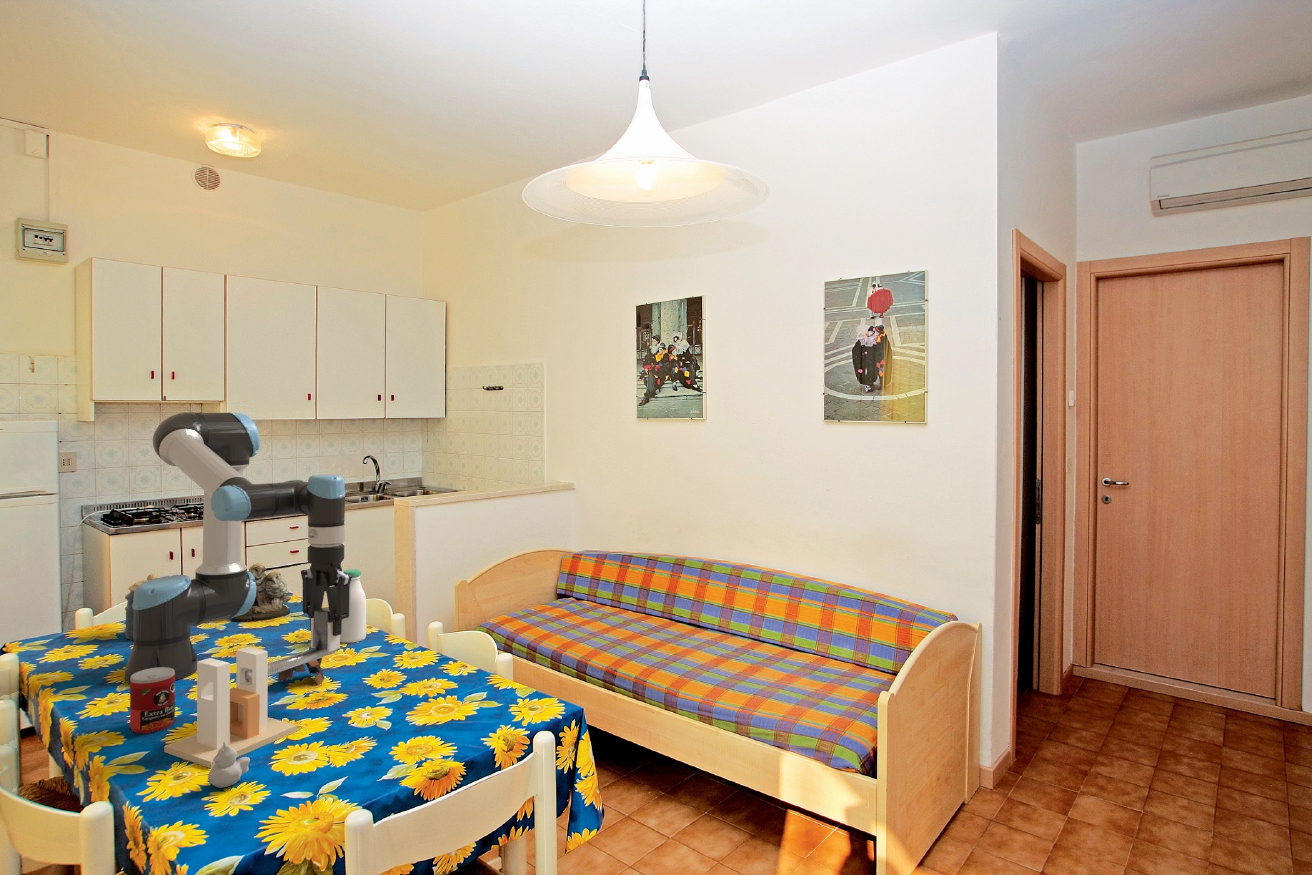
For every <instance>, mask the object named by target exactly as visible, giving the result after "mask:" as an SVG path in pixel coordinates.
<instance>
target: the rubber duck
mask: <svg viewBox="0 0 1312 875" xmlns="http://www.w3.org/2000/svg"><path fill="white" fill-rule="evenodd" d="M237 756H238V754H237V752H236V750H235V749H234V748H232V747H230V746H228V745H227V744H226V743H225V742H223V746H222V747H221V748H220V749H219V751H218V754H217V755H216V756H215V757H214V759H213V761H214V762H215V765H214V766H213V768H212V769H211V768H210V770H209V772H208V774H207V781H208V782H209V783H210V785H212V786H214V787H216V788H221V789H222V788H227V787H231V786H233V785H235V784H236V783H238V782H240V778H241V777H242V775H244V774H245V773H248V772H249V770H250V768H249V764H250V762H251V761H250V760H251V759H250V757H247V756H242V757H240V758H238V757H237ZM237 758H238V759H237Z"/></svg>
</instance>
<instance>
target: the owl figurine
mask: <svg viewBox="0 0 1312 875" xmlns="http://www.w3.org/2000/svg"><path fill="white" fill-rule="evenodd" d="M248 571H249V572H251V573H252V574H253V576H254V578H255V581H254V582H256V597H255V601H254V603H253V605H252V607H251V608H250V609H249V610H248V612H246V613H245V614H243V615H240V616H236V617H233V618H231V619H230V620H231V621H233V622H236V623H248V622H249V623H251V622H252V621H253V622H260V621H261V622H262V621H268V620H269V621H270V620H273V619H280V618H282V617H285V616H287V615H289V614H290V613H291V610H290V608H288V607H287V606H286V605H284V604H286V603H287V602H289V601H290V600H292V597H291V596H289V595H286V594H287V591H288V587H287V586H288V585H287V580H286V579H284V578H283V576H282V574H281V573H280V571H277V570H275V571H271V572H269V573H266V566H265V565H264V564H263V563H259V562H256V563H253V564H252V565H251V566H250V567H249V569H248Z"/></svg>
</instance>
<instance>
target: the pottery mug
mask: <svg viewBox="0 0 1312 875" xmlns="http://www.w3.org/2000/svg"><path fill="white" fill-rule="evenodd" d="M302 652H303V651H300V652H298V653H296V654H299V653H302ZM296 654H294V655H296ZM322 658H323V657H322ZM322 658H319V659H316V660H313V661H310V662H307V663H304V664H301V665H298V666H296V667H293V668H290V669H287V670H284V671H281V672H278V673H277V674H278V677H277V678H278V679H277V680H278V681H279V682H283V683H286V681H288V680H287V679H289V680H293V674H294V672H295V673H296V672H297V673H305V672H306V671H307V670H308V673H309V674H315V676H314V677H313V679H314V681H315V682H316V686H319V685H320V684H322V683H323V682H324V680H325V676H324V673H323V671H322V669H321V665H322V660H323V659H322ZM305 665H306V668H307V669H306V668H305Z"/></svg>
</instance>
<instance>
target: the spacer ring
mask: <svg viewBox="0 0 1312 875" xmlns="http://www.w3.org/2000/svg"><path fill="white" fill-rule="evenodd" d="M238 704H241V705H243V722H241V721H238ZM259 710H260V694H256V693H252V692H248V691H245V690H241V689H237V688H236V687H235V686H234V687H230V734H233V735H236V736H239V737H242V738H245V739H249V738H252V737H254V736H257V735H259Z"/></svg>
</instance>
